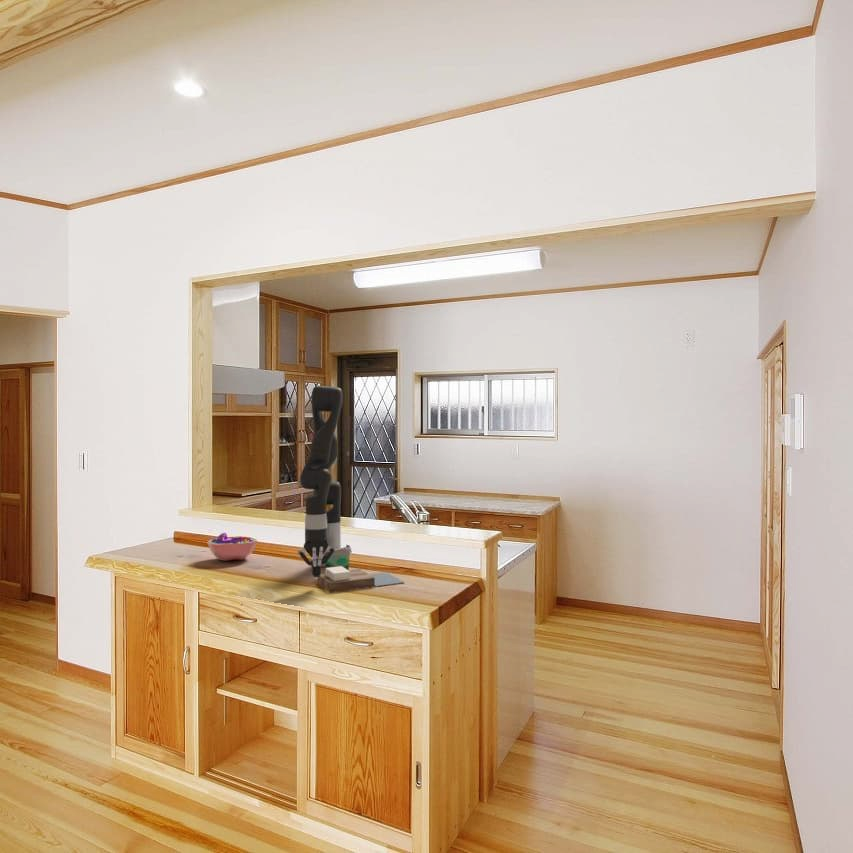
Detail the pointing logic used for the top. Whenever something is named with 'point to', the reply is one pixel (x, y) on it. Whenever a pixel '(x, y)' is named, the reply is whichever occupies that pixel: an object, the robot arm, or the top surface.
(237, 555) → the cell model
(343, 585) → the brown wooden board
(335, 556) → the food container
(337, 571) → the tile
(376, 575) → the mat
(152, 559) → the top surface
